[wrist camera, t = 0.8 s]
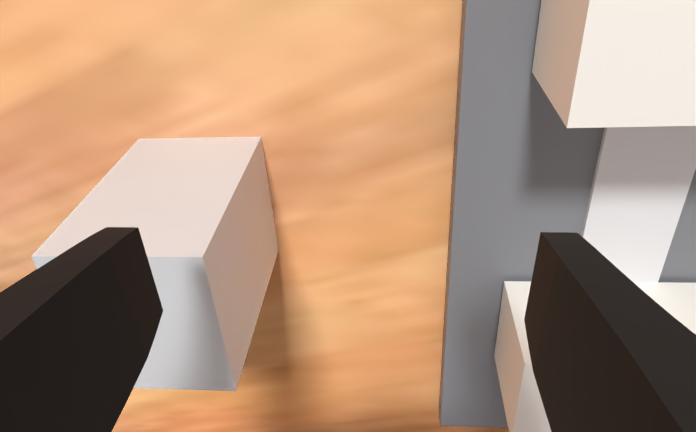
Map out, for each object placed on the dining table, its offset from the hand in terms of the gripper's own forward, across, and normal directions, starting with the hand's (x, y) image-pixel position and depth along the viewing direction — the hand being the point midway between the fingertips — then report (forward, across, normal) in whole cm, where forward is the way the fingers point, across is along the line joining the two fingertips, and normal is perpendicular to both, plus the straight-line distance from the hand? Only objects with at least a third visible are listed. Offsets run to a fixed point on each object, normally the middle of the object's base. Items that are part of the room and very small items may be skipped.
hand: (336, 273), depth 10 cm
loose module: (+10, +6, +4) cm, 12 cm away
